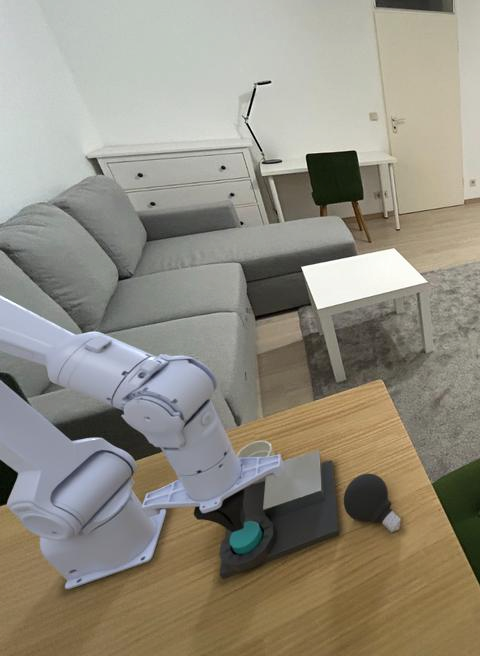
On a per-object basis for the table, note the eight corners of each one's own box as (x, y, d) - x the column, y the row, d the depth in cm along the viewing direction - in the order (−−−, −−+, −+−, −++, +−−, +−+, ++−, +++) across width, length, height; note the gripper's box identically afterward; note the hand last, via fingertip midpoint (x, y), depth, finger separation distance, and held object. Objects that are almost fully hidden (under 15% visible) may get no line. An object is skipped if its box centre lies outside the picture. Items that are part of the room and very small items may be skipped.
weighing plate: (270, 526, 58) (262, 509, 56) (273, 481, 65) (266, 465, 63) (326, 506, 61) (321, 490, 59) (324, 465, 67) (319, 449, 65)
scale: (221, 586, 51) (213, 574, 50) (235, 496, 62) (229, 484, 61) (340, 540, 56) (336, 528, 55) (333, 465, 67) (329, 453, 66)
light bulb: (391, 533, 53) (340, 484, 55) (378, 557, 55) (329, 509, 58) (419, 501, 58) (371, 457, 61) (406, 524, 61) (360, 481, 64)
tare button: (231, 558, 52) (227, 552, 51) (235, 533, 55) (231, 526, 54) (261, 547, 53) (258, 541, 52) (263, 523, 56) (260, 517, 55)
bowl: (241, 490, 63) (232, 472, 61) (245, 464, 68) (237, 446, 66) (277, 478, 65) (270, 460, 63) (279, 454, 70) (272, 436, 67)
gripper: (112, 507, 40) (165, 577, 46) (268, 460, 45) (297, 530, 51) (135, 454, 45) (180, 523, 52) (272, 417, 50) (297, 485, 57)
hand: (238, 523), depth 52 cm, fingers closed
